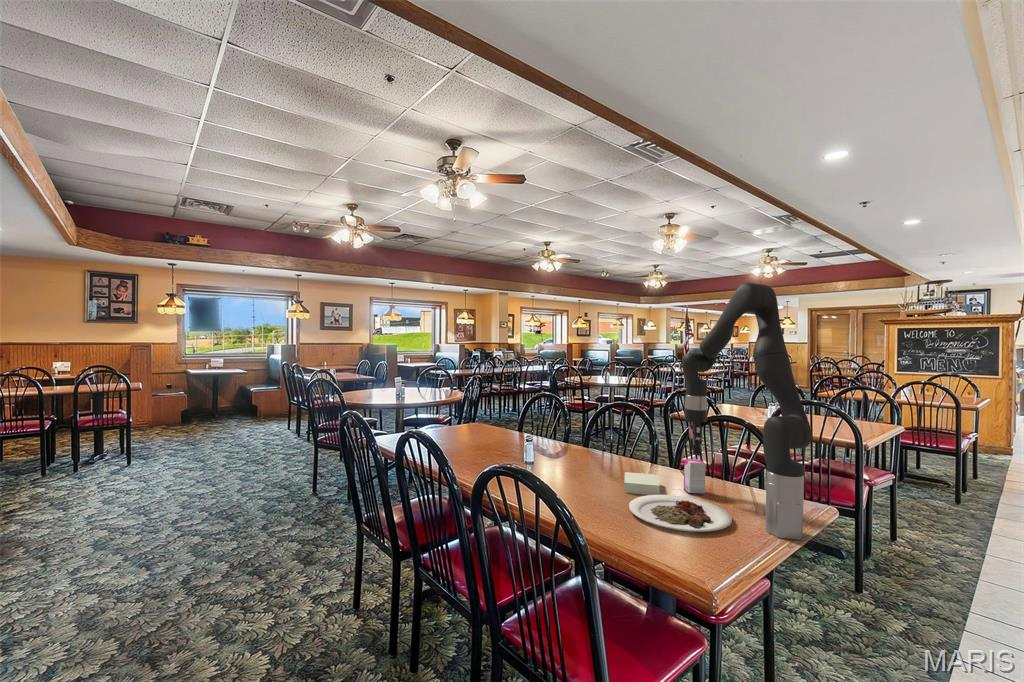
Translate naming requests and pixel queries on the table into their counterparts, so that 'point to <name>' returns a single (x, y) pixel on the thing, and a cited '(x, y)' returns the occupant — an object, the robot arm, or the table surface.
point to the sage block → (641, 483)
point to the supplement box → (694, 476)
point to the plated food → (680, 513)
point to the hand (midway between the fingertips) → (694, 452)
